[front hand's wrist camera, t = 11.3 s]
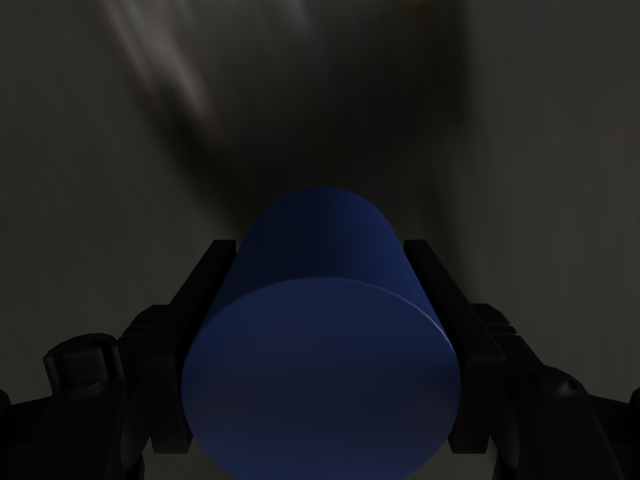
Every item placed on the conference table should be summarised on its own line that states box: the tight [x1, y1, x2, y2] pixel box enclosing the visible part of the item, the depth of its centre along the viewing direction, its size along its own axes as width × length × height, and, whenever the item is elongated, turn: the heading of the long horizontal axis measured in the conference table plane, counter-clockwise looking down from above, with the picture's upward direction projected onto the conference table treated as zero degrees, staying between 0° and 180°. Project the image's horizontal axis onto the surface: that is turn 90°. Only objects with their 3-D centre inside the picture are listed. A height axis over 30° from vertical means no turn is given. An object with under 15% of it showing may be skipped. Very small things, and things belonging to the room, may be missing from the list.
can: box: [180, 187, 462, 480], centre depth 12 cm, size 6×6×7 cm
